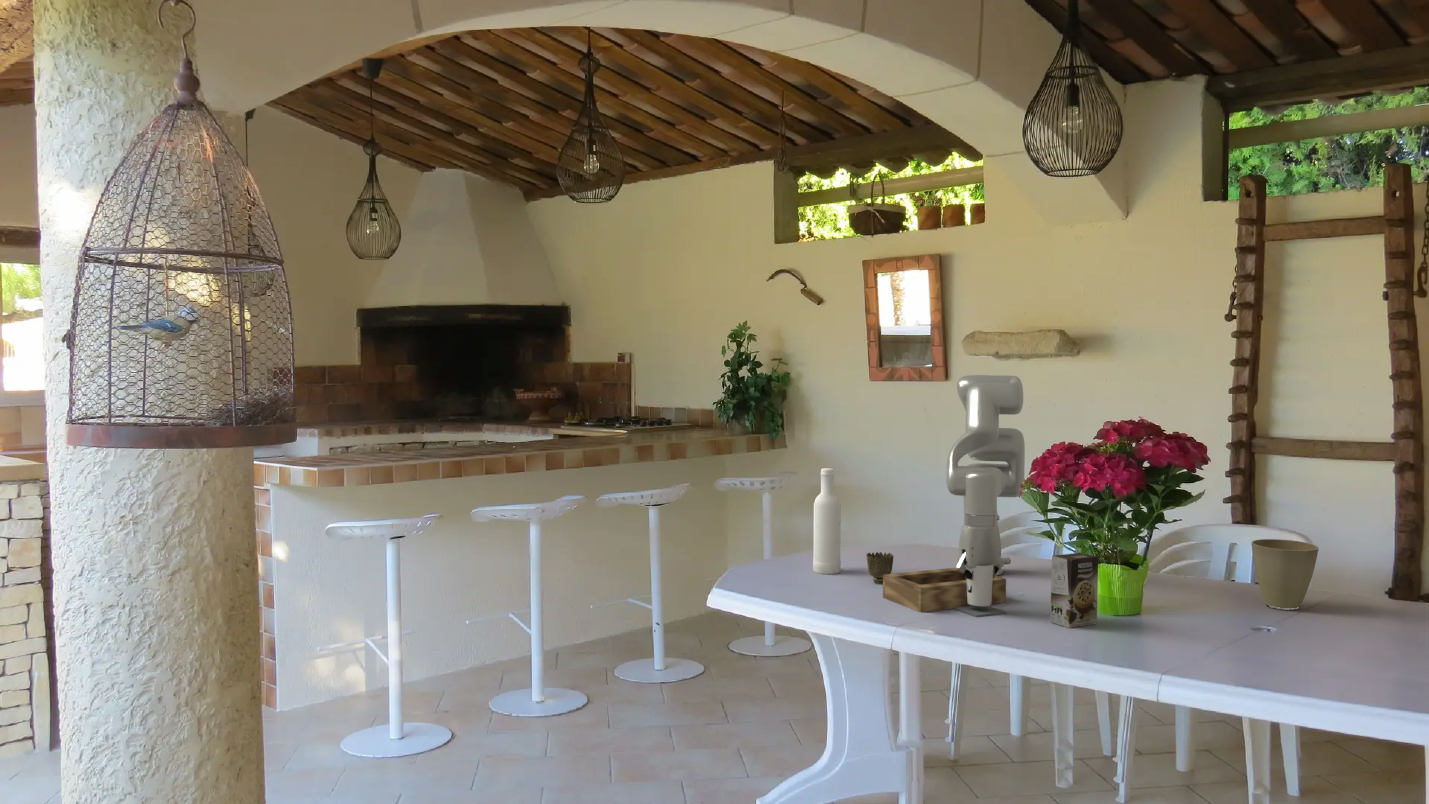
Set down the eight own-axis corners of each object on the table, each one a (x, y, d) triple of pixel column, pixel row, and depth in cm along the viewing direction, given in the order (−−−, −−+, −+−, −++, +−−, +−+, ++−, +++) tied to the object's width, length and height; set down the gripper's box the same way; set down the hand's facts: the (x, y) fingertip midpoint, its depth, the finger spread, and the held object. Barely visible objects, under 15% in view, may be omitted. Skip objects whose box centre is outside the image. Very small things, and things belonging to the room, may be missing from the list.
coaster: (983, 605, 274) (983, 603, 274) (1006, 613, 265) (1006, 611, 265) (953, 608, 270) (953, 607, 270) (976, 617, 262) (976, 615, 262)
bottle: (821, 567, 320) (822, 466, 319) (845, 570, 316) (846, 468, 314) (808, 572, 314) (808, 469, 312) (831, 575, 309) (832, 471, 308)
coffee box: (1069, 628, 251) (1071, 559, 250) (1049, 622, 257) (1050, 554, 256) (1098, 624, 255) (1099, 556, 255) (1077, 618, 261) (1078, 551, 260)
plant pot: (1241, 607, 271) (1243, 544, 271) (1260, 597, 282) (1261, 536, 281) (1307, 617, 261) (1309, 552, 260) (1324, 607, 272) (1325, 544, 271)
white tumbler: (962, 604, 266) (962, 564, 266) (969, 599, 272) (969, 559, 272) (989, 607, 263) (989, 566, 263) (996, 601, 269) (996, 561, 269)
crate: (964, 588, 293) (965, 566, 292) (1005, 602, 277) (1006, 578, 277) (882, 597, 282) (883, 574, 282) (920, 612, 267) (920, 588, 266)
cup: (895, 585, 296) (895, 556, 296) (868, 585, 296) (868, 556, 296) (891, 580, 304) (891, 551, 303) (865, 579, 304) (865, 551, 303)
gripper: (998, 516, 273) (997, 588, 274) (943, 521, 267) (943, 594, 268) (1018, 521, 267) (1016, 594, 268) (962, 525, 260) (961, 601, 261)
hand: (979, 593), depth 268 cm, fingers closed on white tumbler, 3 cm apart
